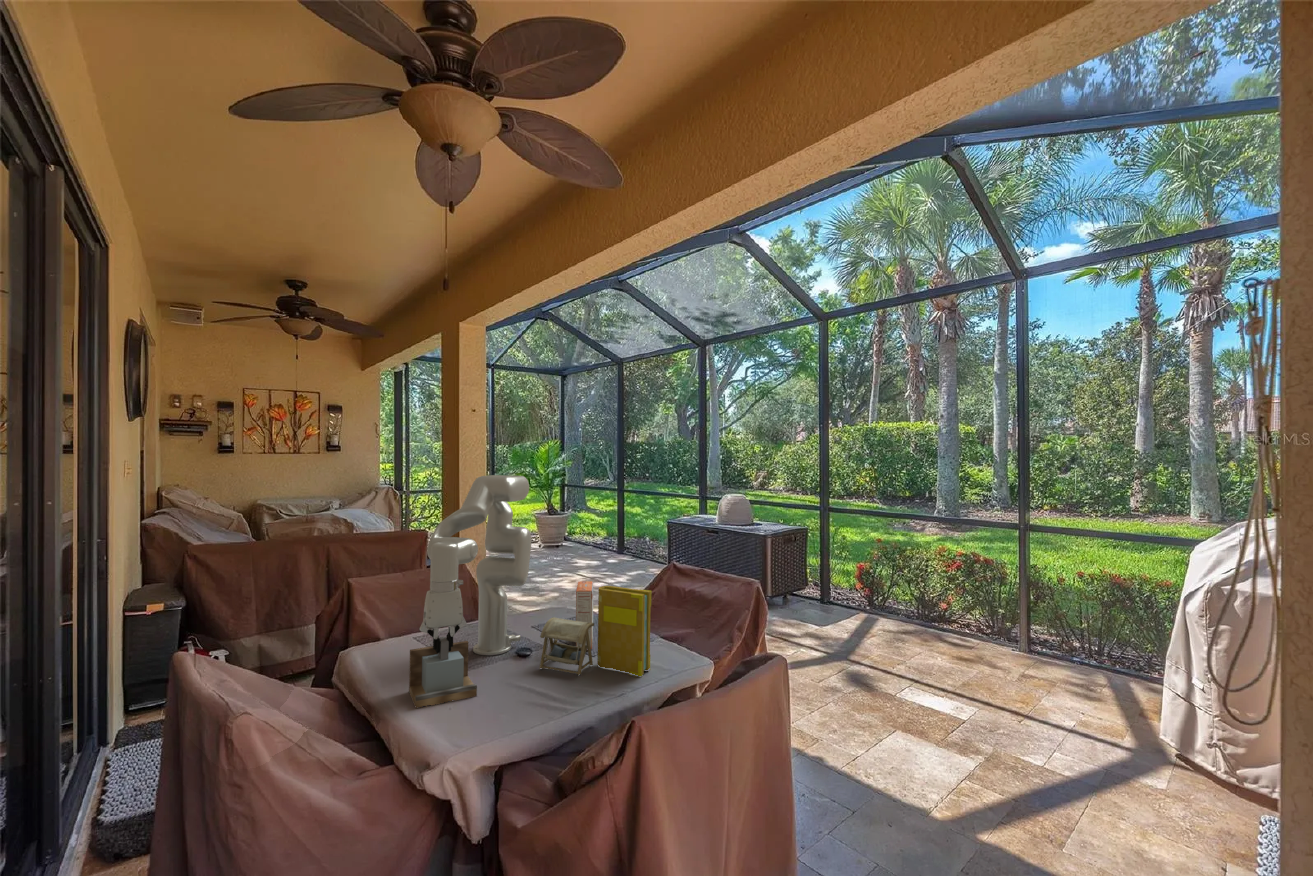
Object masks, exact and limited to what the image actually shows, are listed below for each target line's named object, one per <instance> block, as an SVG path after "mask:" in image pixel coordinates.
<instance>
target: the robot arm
mask: <svg viewBox="0 0 1313 876" xmlns="http://www.w3.org/2000/svg"><path fill="white" fill-rule="evenodd" d="M529 483H530V482H529V480H528V478H526V476H524V475H504V474H503V475H502V474H492V475H491V474H490V475H481V476H478V477H477V478H476V479H475V480H474V481H473V482H472V484H471V486H470V489H469V491H468V493H467V494H466V497H465V499H464V501H463V503H462V505H461V507H460V508H459V509H457V510H455V511H454V512H452V513H451V514H450V515H448V516H447V517H445V518H444V519H443V520H441V521H440V523H438V524H437V526H436V527H435V529H434V530H433V532H432V534H431V536H430V538H429V542H428V544H427V548H426V550H427V551H426V552H427V553H426V554H427V556H428V558H429V559H430V578H429V582H430V585H429V590H427V591H426V595H425V598H424V599H425V600H424V608H423V620H422V622H421V625H420V627H419V631H420V632H421V633H424V634H428V635H429V636H430V637H431V638H432V640H433V641H432V646H433V649H434V650H435V651H436V652H437V653H439V652H440V639H439V637H440V636H439V628H446V627H447V628H448V629H447V630H448V631H447V634H446V636H445V637H446V639H447V640H448V641H449V651H451V647H453V643H454V637H455V635H456V633H457V632H458V631H460V629H462V628H464V627H465V626H466V625H467V621H466V619H465V617H464V609H463V598H462V592H461V588H460V586H461V585H462V586H463V585H464V580H463V579H459V565H464V564H468V563H471V562H472V561H474V560H475V558H476V557H477V555H478V552H479V546H478V544H477V542H476V540H474V539H473V538H469V537H456V536H455V537H454V536H453V535H456V534H458V532H461V531H464V530H467V529H471V528H474V527H476V526H479V525H481V524H483V523H484V522H485V521H486V519H487V524H486V530H485V537H484V548H485V550H486V551H487V552H489V553H490V554H491V553H492V554H504V555H505V554H506V555H514V557H500V556H498V557H497V556H496V557H495V556H489V557H488V556H487V557H484V558H482V559H481V560H480V561H478V563H477V566H476V567H475V568H476V570H475V571H476V579H477V587H478V620H477V621H478V622H477V623H478V626H477V627H478V628H477V631H478V632H477V643H476V644H474V645H473V646H472V647H473V648H472V649H473V650H472V651H473V652H474V653H475V654H476V655H479V656H496V655H501V654H505V653H507V652H509V651H510V650H511V649H512V644H511V643H513V642H520V641H521V635H520V634H516V635H515V634H510V635H509V634H508V631H507V630H508V595H507V592H506V591H505V589H504V588H503V587H522V586H524V585H525V584H526V582H527V580H528V575H529V572H530V571H529V569H530V561H531V560H530V559H531V551H532V549H531V548H532V535H531V532H530V530H529V529H528V528H527V527H525V526H514V525H513V519H514V517H513V516H514V513H513V508H511V505H510V504H509V503H508V502H510V503H511V502H518V501H522V500H524V499H525V498H527V497H528V494H529V491H530V484H529Z"/></svg>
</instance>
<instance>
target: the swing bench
mask: <svg viewBox="0 0 1313 876" xmlns="http://www.w3.org/2000/svg"><path fill="white" fill-rule="evenodd" d="M592 626H593V627H595V623H594V622H593V623H589V622H580V621H576V620H571V619H565V618H560V617H551V618H549V619H548V620H547V621H546V623H545V624H544V626H543V628H542V630H541V631H540V632H541V633H540V636H539V637H540V639H543V646H542V652H541V657H540V658H541V659H540V663H539V669H540V668H543V669H545V668H548V669H547V670H551V669H554V670H553V671H557V670H559V672H563V671H564V673H568V672H569V673H570V674H574V673H576V674H575V675H577V674H578V675H579V674H581V675H582V670H583V669H585V668H586V667H588V665H589V666H590V665H593V666H594V662H593V655H592V650H591V646H590V640H589V633H588V629H589V628H590V627H592ZM560 640H561V641H565V642H572V643H576V642H578V643H579V644H582V647H579V645H578V647H576V645H568V644H565V643H561V642H558V641H560ZM586 643H587V645H585V644H586ZM549 644H550V645H549ZM548 646H549V647H550V650H549V651H550V652H549V654H547V652H548ZM587 649H588V650H587ZM586 653H587V655H588V661H587V662H586V663H585V664H584V659H585V657H586ZM548 661H552V662H557V663H559V664H560V663H561V664H564V665H565V664H566V665H575V666H578V668H577V670H571V669H566V668H559V667H554V666H548V665H545V663H546V662H548ZM569 673H568V674H569Z"/></svg>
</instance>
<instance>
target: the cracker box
mask: <svg viewBox="0 0 1313 876" xmlns="http://www.w3.org/2000/svg"><path fill="white" fill-rule="evenodd" d="M576 585H577V586H576V589H575V621H580V622H589V623H594V581H592V580H589V581H586V580H579V581H577V584H576ZM588 633H589V640H590V646H591V649H592V650H593V639H594V638H593V637H594V636H593V635H594V626H592V627H590V628H589V629H588ZM578 645H579V647H582V644H579V643H578V642H575V647H578ZM585 645H587V643H586V644H585Z"/></svg>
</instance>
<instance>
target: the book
mask: <svg viewBox="0 0 1313 876" xmlns="http://www.w3.org/2000/svg"><path fill="white" fill-rule="evenodd" d="M597 594H598V602H597V603H598V605H597V610H598V611H597V663H596V664H598V665H599V666H600V667H605V668H613V669H616V670H620V671H625V672H629V673H632V674H635V675H638V676H642V675H643V674H644V672H645V671H644V670H648V669H649V668H650V669H651V613H652V612H651V607H652V590H648V589H638V588H628V587H622V586H621V587H620V586H613V585H603V586H602V585H601V586H599V587H598V593H597ZM643 676H644V675H643ZM643 676H642V677H643Z"/></svg>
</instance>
